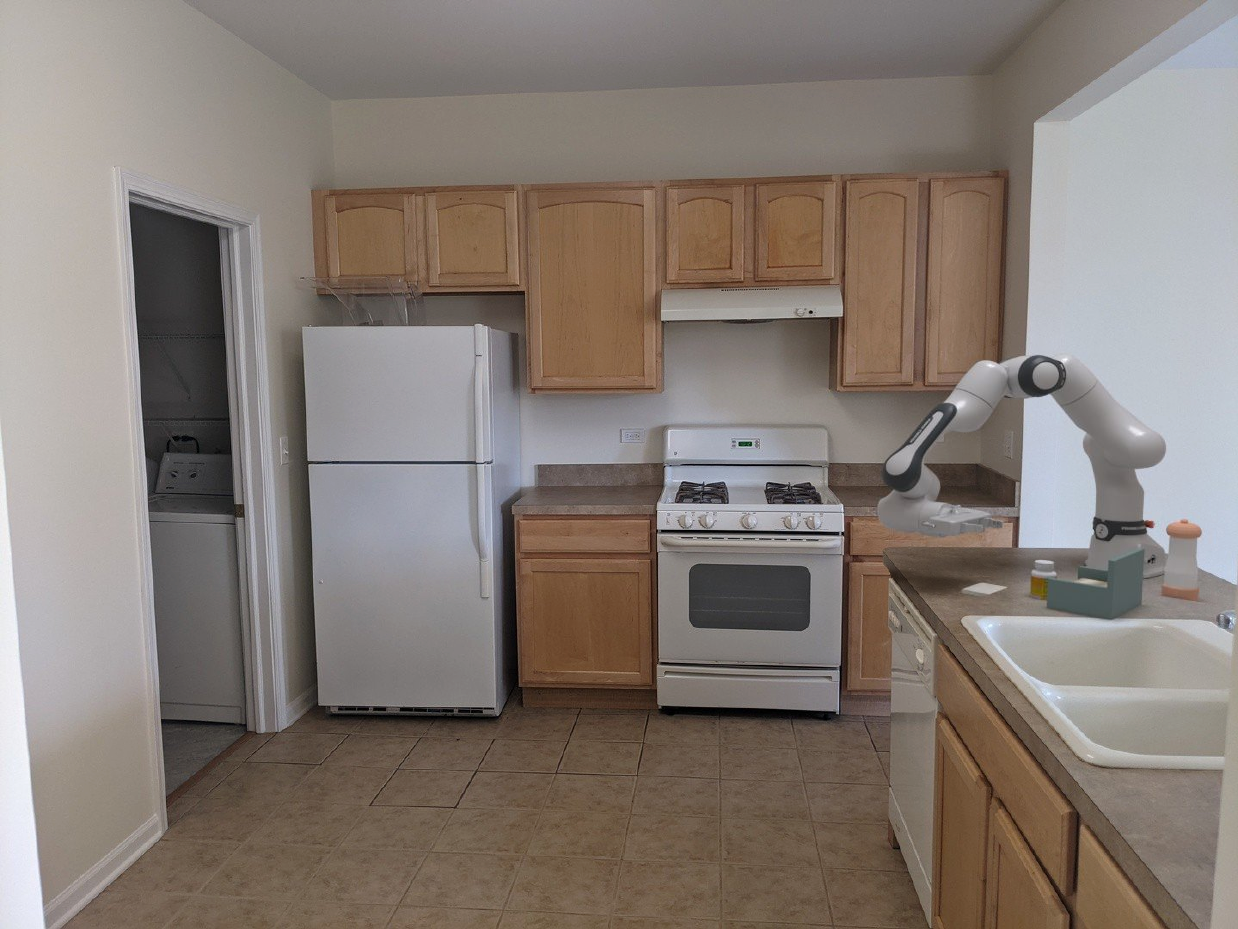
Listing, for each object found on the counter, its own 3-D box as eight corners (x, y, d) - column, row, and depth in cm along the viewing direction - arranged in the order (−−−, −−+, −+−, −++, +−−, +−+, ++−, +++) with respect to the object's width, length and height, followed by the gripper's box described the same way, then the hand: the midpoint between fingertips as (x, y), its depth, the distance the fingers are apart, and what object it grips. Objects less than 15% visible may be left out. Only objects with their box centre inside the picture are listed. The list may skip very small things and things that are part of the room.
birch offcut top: (1060, 592, 196) (1060, 585, 196) (1082, 584, 203) (1082, 578, 203) (1103, 600, 189) (1103, 593, 189) (1124, 591, 196) (1124, 585, 196)
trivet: (961, 593, 214) (961, 589, 214) (980, 586, 220) (981, 582, 220) (1002, 601, 206) (1003, 596, 206) (1021, 593, 213) (1021, 589, 213)
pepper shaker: (1163, 595, 211) (1168, 515, 209) (1199, 600, 206) (1205, 518, 204) (1158, 601, 205) (1163, 519, 203) (1195, 606, 201) (1201, 523, 199)
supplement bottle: (1043, 607, 201) (1045, 565, 200) (1024, 601, 206) (1026, 560, 205) (1060, 604, 203) (1062, 562, 202) (1041, 599, 208) (1043, 558, 207)
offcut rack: (1046, 614, 195) (1049, 551, 194) (1078, 599, 207) (1081, 540, 206) (1111, 626, 185) (1114, 561, 184) (1141, 610, 198) (1144, 548, 196)
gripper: (917, 511, 215) (972, 518, 204) (958, 503, 228) (1011, 510, 218) (916, 537, 215) (971, 545, 205) (957, 527, 229) (1010, 535, 219)
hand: (992, 527), depth 212 cm, fingers open, 8 cm apart
